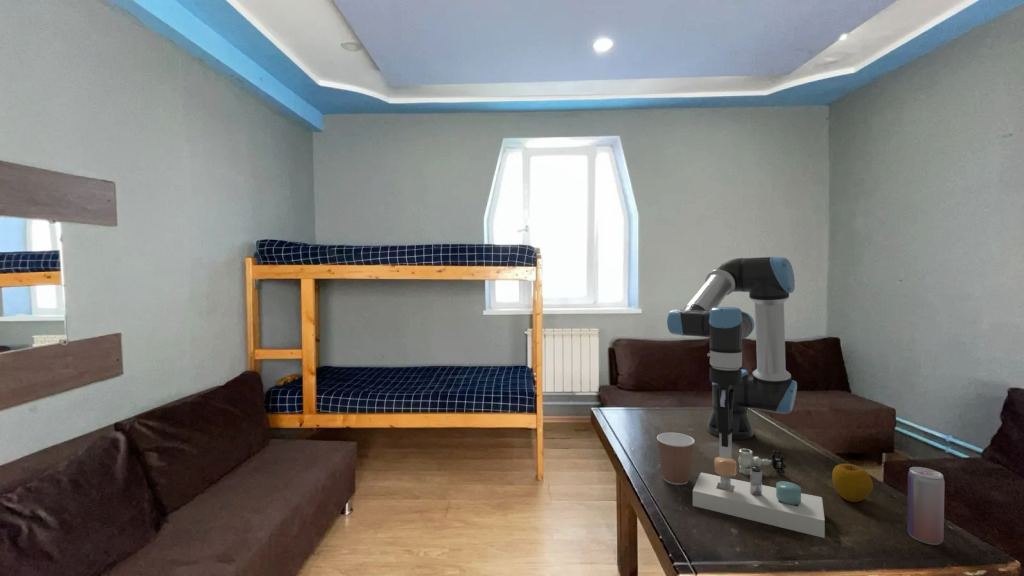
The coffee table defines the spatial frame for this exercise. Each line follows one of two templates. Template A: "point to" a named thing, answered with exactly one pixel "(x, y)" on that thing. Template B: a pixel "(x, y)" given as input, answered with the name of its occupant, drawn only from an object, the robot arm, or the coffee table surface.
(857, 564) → the coffee table surface
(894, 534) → the coffee table surface
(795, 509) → the mount board
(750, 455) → the valve
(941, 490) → the beverage can
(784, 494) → the knob teal
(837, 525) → the coffee table surface
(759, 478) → the pot post
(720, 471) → the knob terracotta
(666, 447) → the coffee cup
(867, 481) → the apple
